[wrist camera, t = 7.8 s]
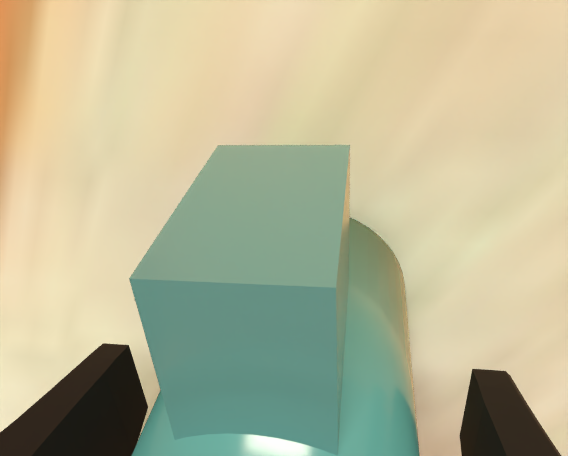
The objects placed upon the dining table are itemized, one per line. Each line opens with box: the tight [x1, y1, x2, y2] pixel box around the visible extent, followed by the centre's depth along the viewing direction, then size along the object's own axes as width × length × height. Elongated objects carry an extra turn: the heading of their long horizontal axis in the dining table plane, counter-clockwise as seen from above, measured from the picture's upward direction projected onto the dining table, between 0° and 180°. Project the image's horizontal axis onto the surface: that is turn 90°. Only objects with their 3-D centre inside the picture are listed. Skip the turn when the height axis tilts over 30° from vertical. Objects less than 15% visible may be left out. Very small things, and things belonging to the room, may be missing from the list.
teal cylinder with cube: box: [129, 145, 419, 456], centre depth 10 cm, size 6×8×8 cm
